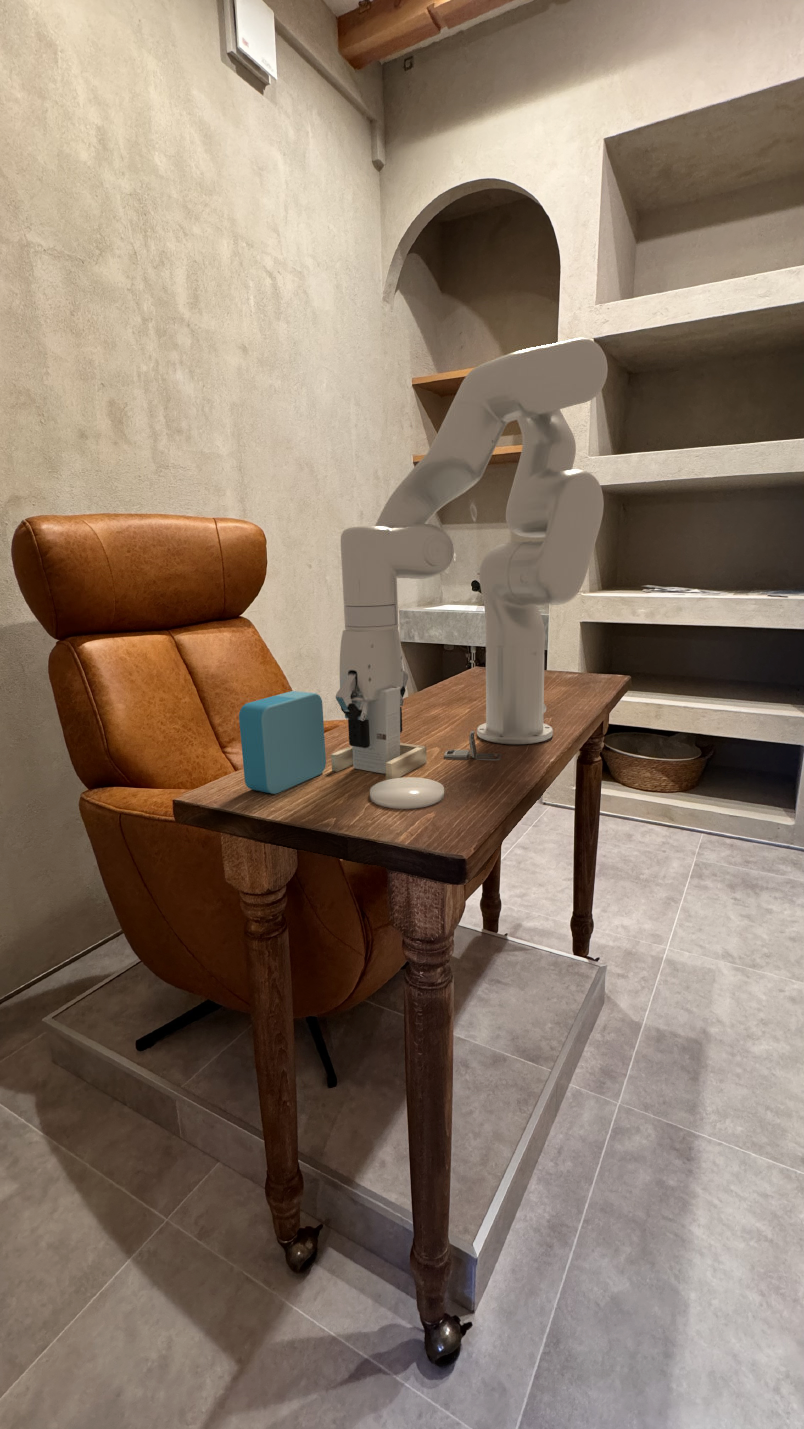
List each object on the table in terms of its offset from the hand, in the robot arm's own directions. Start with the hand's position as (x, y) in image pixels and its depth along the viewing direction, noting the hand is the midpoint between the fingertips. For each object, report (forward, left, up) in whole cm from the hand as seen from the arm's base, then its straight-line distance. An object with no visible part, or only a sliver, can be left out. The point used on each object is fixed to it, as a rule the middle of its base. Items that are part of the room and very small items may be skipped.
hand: (376, 738), depth 98 cm
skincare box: (0, 0, -5) cm, 5 cm away
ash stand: (0, 0, -4) cm, 4 cm away
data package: (+11, -8, -5) cm, 14 cm away
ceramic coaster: (+8, +10, -4) cm, 14 cm away
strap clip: (-11, +10, -5) cm, 16 cm away
